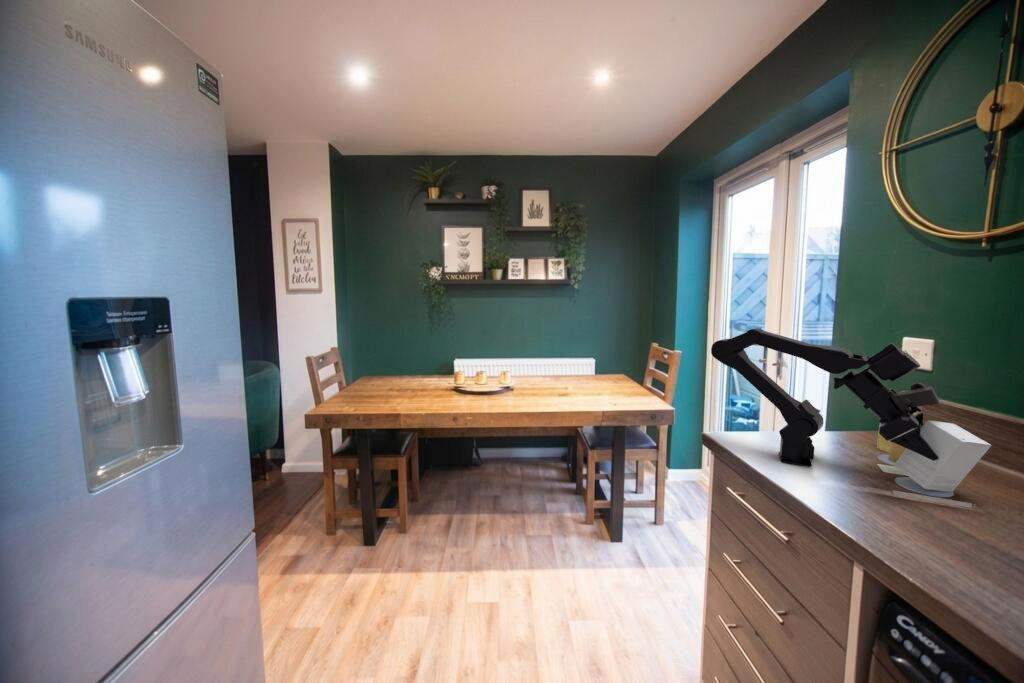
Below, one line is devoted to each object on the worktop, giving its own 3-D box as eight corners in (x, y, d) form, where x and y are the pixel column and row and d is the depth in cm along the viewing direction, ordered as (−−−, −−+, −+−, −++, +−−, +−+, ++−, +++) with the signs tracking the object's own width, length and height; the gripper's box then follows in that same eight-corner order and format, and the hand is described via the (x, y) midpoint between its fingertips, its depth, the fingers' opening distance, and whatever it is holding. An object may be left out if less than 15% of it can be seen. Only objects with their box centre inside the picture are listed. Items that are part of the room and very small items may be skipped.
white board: (893, 495, 86) (894, 489, 86) (859, 454, 108) (859, 449, 108) (972, 509, 81) (973, 502, 81) (919, 463, 102) (920, 458, 102)
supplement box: (953, 493, 85) (994, 446, 79) (923, 489, 84) (963, 441, 78) (919, 468, 91) (955, 423, 86) (891, 464, 90) (926, 418, 85)
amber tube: (892, 463, 99) (897, 415, 98) (884, 456, 104) (889, 410, 102) (920, 467, 97) (926, 418, 95) (911, 459, 101) (917, 412, 100)
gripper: (907, 378, 81) (984, 446, 74) (913, 366, 94) (979, 423, 87) (852, 408, 88) (918, 473, 81) (865, 393, 100) (923, 448, 94)
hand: (936, 453), depth 85 cm, fingers closed on supplement box, 9 cm apart
